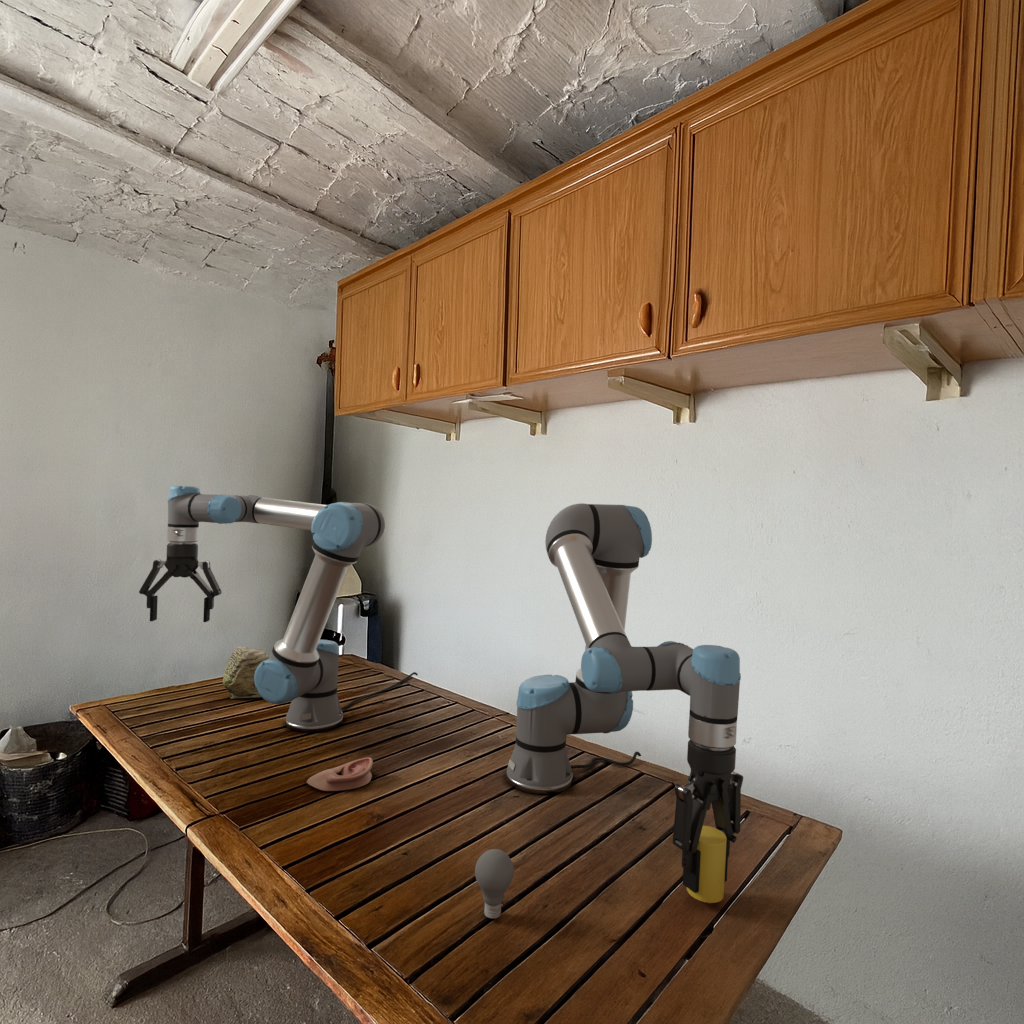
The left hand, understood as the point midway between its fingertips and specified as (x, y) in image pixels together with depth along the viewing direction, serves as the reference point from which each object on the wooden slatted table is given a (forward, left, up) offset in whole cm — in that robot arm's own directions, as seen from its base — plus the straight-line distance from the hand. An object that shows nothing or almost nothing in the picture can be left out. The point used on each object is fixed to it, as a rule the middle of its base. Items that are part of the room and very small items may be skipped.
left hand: (180, 620), depth 172 cm
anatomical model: (-9, +61, -28) cm, 67 cm away
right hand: (-23, +139, -25) cm, 143 cm away
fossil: (-27, -8, -28) cm, 39 cm away
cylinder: (-23, +139, -26) cm, 143 cm away
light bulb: (+3, +116, -28) cm, 119 cm away
